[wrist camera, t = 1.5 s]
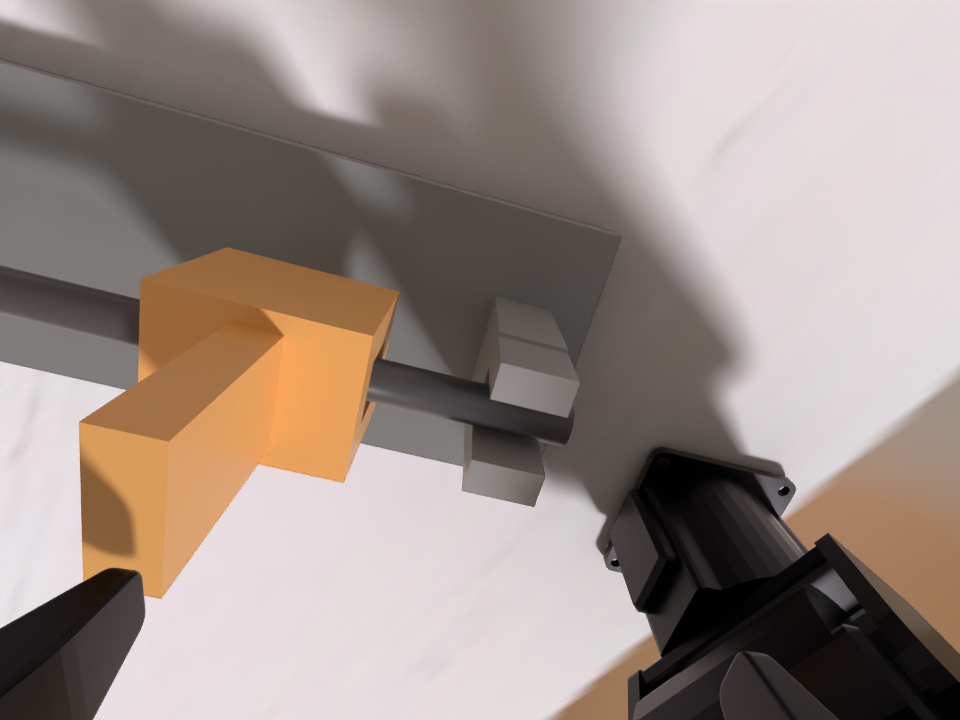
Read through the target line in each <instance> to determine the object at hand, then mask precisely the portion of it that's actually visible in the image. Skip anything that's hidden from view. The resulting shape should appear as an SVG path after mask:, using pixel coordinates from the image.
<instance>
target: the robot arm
mask: <svg viewBox="0 0 960 720" xmlns="http://www.w3.org/2000/svg"><path fill="white" fill-rule="evenodd" d="M661 458H666V459H665V461H663V462H658V460H659V459H661ZM783 486H784V488H783V489H781V490H779V489H780V488H781V487H783ZM795 491H796V488H795V485H794V484H793V483H792V482H791V481H790V480H789V479H788V478H787V477H785V476H781V475H777V474H773V473H769V472H765V471H760V470H756V469H752V468H748V467H744V466H740V465H735V464H731V463H727V462H723V461H719V460H715V459H711V458H706V457H702V456H698V455H694V454H690V453H686V452H681V451H677V450H673V449H669V448H665V447H660V448H656V449H654V450H653V451H652V452H651V453H650V455H649V457H648V459H647V461H646V463H645V465H644V468H643V470H642V472H641V474H640V476H639V479H638V481H637V483H636V485H635V487H634V488H633V489H632V490H631V491H629V492H628V495H627V497H626V499H625V501H624V503H623V506H622V508H621V510H620V512H619V515H618V517H617V519H616V521H615V523H614V526H613V528H612V530H611V532H610V538H611V540H610V542H609V544H608V547H607V549H606V551H605V553H604V561H605V564H606V567H607V568H608V569H609V570H612V571H616V572H620V573H623V576H624V579H625V582H626V585H627V588H628V591H629V594H630V597H631V600H632V602H633V605H634V606H635V608H636V610H637V611H638V612H642V613H645V614H646V617H647V619H648V622H649V625H650V628H651V630H652V633H653V636H654V639H655V641H656V644H657V647H658V650H659V652H660V655H661V657H662V658H661V659H659V660H658V661H657V662H655V663H654V664H652V665H651V666H650V667H648V668H647V669H645V670H644V671H642V670H639V671H637V672H636V673H635V674H633V675H632V676H630V677H629V678H628V720H960V654H959V653H958V652H957V651H956V650H955V649H954V648H953V647H952V646H951V645H950V644H949V643H948V642H947V641H946V640H945V639H944V638H943V637H942V636H941V635H940V634H939V633H938V632H937V631H936V630H935V629H934V628H933V627H932V626H931V625H930V624H929V623H928V622H927V621H926V620H925V619H924V618H923V617H922V615H920V614H919V612H918V611H917V610H916V609H914V607H912V606H911V605H910V604H909V603H908V602H907V601H906V600H905V599H904V598H903V597H901V596H900V595H899V594H898V593H897V592H896V591H895V590H893V589H892V588H891V587H890V586H889V585H888V584H887V583H885V582H884V581H883V580H882V579H881V578H880V577H878V576H877V575H876V574H875V573H874V572H873V571H872V570H871V569H869V568H868V567H867V566H866V565H865V564H864V563H862V562H861V561H860V560H859V559H858V558H857V557H856V556H854V555H853V554H852V553H851V552H850V551H849V550H848V549H846V548H845V547H844V546H843V545H842V544H841V543H839V542H838V541H837V540H836V539H835V538H834V537H833V536H831V535H830V534H829V533H827V534H826V535H824V536H823V537H822V538H820V539H819V540H818V541H816V542H815V545H816V547H814V548H813V549H812V550H810V551H808V550H807V549H806V547H805V546H804V545H803V544H802V543H801V541H800V540H799V539H798V538H797V537H796V535H795V534H794V533H793V532H792V531H791V529H790V528H789V527H788V526H787V524H786V523H785V522H784V521H783V520H782V518H781V515H782V514H783V512H784V510H785V509H786V507H787V505H788V504H789V502H790V500H791V499H792V497H793V495H794V494H795ZM615 558H617V560H613V559H615ZM144 618H145V601H144V590H143V579H142V575H141V574H140V572H139V571H136V570H130V569H122V568H108V569H105V570H103V571H101V572H99V573H97V574H96V575H94V576H92V577H90V578H89V579H87V580H85V581H83V582H82V583H80V584H78V585H76V586H74V587H73V588H71V589H69V590H67V591H66V592H64V593H62V594H60V595H59V596H57V597H55V598H53V599H51V600H50V601H48V602H46V603H44V604H43V605H41V606H39V607H37V608H36V609H34V610H32V611H30V612H28V613H27V614H25V615H23V616H21V617H20V618H18V619H16V620H14V621H13V622H11V623H9V624H7V625H5V626H4V627H2V628H0V720H93V719H94V717H95V715H96V713H97V711H98V709H99V707H100V705H101V704H102V702H103V700H104V698H105V696H106V694H107V692H108V690H109V689H110V687H111V685H112V683H113V681H114V679H115V677H116V675H117V673H118V672H119V670H120V668H121V666H122V664H123V662H124V660H125V658H126V656H127V655H128V653H129V651H130V649H131V647H132V645H133V643H134V641H135V639H136V638H137V636H138V634H139V632H140V630H141V628H142V625H143V622H144Z"/></svg>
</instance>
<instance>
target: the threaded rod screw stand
mask: <svg viewBox="0 0 960 720" xmlns="http://www.w3.org/2000/svg"><path fill="white" fill-rule="evenodd" d="M621 238H622V237H621V236H619V235H617V234H615V233H614V232H612V231H609V230H606V229H602V228H598V227H595V226H591V225H588V224H584V223H581V222H577V221H574V220H570V219H566V218H563V217H559V216H556V215H552V214H549V213H545V212H542V211H538V210H535V209H531V208H527V207H524V206H520V205H517V204H513V203H510V202H506V201H503V200H499V199H495V198H492V197H488V196H485V195H481V194H478V193H474V192H471V191H467V190H464V189H460V188H456V187H453V186H449V185H446V184H442V183H439V182H435V181H432V180H428V179H425V178H421V177H417V176H414V175H410V174H407V173H403V172H400V171H396V170H393V169H389V168H385V167H382V166H378V165H375V164H371V163H368V162H364V161H361V160H357V159H354V158H350V157H346V156H343V155H339V154H336V153H332V152H329V151H325V150H322V149H318V148H314V147H311V146H307V145H304V144H300V143H297V142H293V141H290V140H286V139H283V138H279V137H275V136H272V135H268V134H265V133H261V132H258V131H254V130H251V129H247V128H243V127H240V126H236V125H233V124H229V123H226V122H222V121H219V120H215V119H212V118H208V117H204V116H201V115H197V114H194V113H190V112H187V111H183V110H180V109H176V108H172V107H169V106H165V105H162V104H158V103H155V102H151V101H148V100H144V99H141V98H137V97H133V96H130V95H126V94H123V93H119V92H116V91H112V90H109V89H105V88H101V87H98V86H94V85H91V84H87V83H84V82H80V81H77V80H73V79H70V78H66V77H62V76H59V75H55V74H52V73H48V72H45V71H41V70H38V69H34V68H30V67H27V66H23V65H20V64H16V63H13V62H9V61H6V60H2V59H0V361H2V362H6V363H10V364H15V365H19V366H24V367H28V368H32V369H37V370H41V371H46V372H50V373H54V374H59V375H63V376H68V377H72V378H76V379H81V380H85V381H90V382H94V383H98V384H103V385H107V386H112V387H116V388H120V389H125V390H128V389H130V388H131V387H133V386H134V385H136V384H137V383H138V363H139V316H140V278H143V277H146V276H148V275H151V274H154V273H157V272H159V271H162V270H165V269H168V268H171V267H173V266H176V265H179V264H182V263H185V262H187V261H190V260H193V259H196V258H198V257H201V256H204V255H207V254H210V253H212V252H215V251H218V250H221V249H223V248H226V247H229V248H233V249H236V250H240V251H244V252H248V253H252V254H256V255H260V256H264V257H267V258H271V259H275V260H279V261H283V262H287V263H291V264H294V265H298V266H302V267H306V268H310V269H314V270H318V271H322V272H325V273H329V274H333V275H337V276H341V277H345V278H349V279H353V280H356V281H360V282H364V283H368V284H372V285H376V286H380V287H383V288H387V289H391V290H395V291H399V297H398V302H397V306H396V311H395V316H394V320H393V325H392V330H391V334H390V339H389V343H388V348H387V353H386V357H385V359H382V358H377V357H376V359H375V360H374V363H373V368H372V372H371V377H370V382H369V387H368V392H367V397H366V400H367V401H371V402H375V403H376V404H375V409H374V411H373V414H372V416H371V418H370V421H369V423H368V426H367V428H366V430H365V433H364V435H363V438H362V440H361V442H360V443H362V444H366V445H371V446H375V447H380V448H384V449H388V450H393V451H397V452H402V453H406V454H410V455H415V456H419V457H424V458H428V459H432V460H437V461H441V462H446V463H450V464H454V465H459V466H463V482H462V491H465V492H469V493H474V494H478V495H483V496H487V497H492V498H496V499H501V500H505V501H510V502H514V503H519V504H523V505H528V506H532V507H534V506H535V503H536V500H537V498H538V495H539V492H540V490H541V487H542V484H543V482H544V479H545V472H544V467H543V462H542V458H541V457H542V454H543V452H544V449H545V446H546V443H549V444H553V445H557V446H561V447H563V446H564V445H565V444H566V443H567V441H568V439H569V437H570V434H571V431H572V426H573V421H574V409H573V406H572V404H573V402H574V399H575V396H576V394H577V391H578V388H579V386H580V383H581V382H580V380H579V378H578V375H577V373H576V371H575V369H574V367H575V364H576V361H577V358H578V356H579V353H580V350H581V347H582V345H583V342H584V339H585V337H586V334H587V331H588V328H589V326H590V323H591V320H592V317H593V315H594V312H595V309H596V306H597V304H598V301H599V298H600V295H601V293H602V290H603V287H604V284H605V282H606V279H607V276H608V274H609V271H610V268H611V265H612V263H613V260H614V257H615V254H616V252H617V249H618V246H619V243H620V241H621Z"/></svg>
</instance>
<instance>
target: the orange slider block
mask: <svg viewBox="0 0 960 720" xmlns="http://www.w3.org/2000/svg"><path fill="white" fill-rule="evenodd" d="M398 297H399V291H395V290H391V289H387V288H383V287H380V286H376V285H372V284H368V283H364V282H360V281H356V280H353V279H349V278H345V277H341V276H337V275H333V274H329V273H325V272H322V271H318V270H314V269H310V268H306V267H302V266H298V265H294V264H291V263H287V262H283V261H279V260H275V259H271V258H267V257H264V256H260V255H256V254H252V253H248V252H244V251H240V250H236V249H233V248H229V247H226V248H223V249H221V250H218V251H215V252H212V253H210V254H207V255H204V256H201V257H198V258H196V259H193V260H190V261H187V262H185V263H182V264H179V265H176V266H173V267H171V268H168V269H165V270H162V271H159V272H157V273H154V274H151V275H148V276H146V277H143V278H140V316H139V363H138V383H137V384H136V385H134V386H133V387H131V388H130V389H128V390H127V391H125V392H124V393H122V394H121V395H119V396H117V397H116V398H114V399H113V400H111V401H110V402H108V403H107V404H105V405H104V406H102V407H101V408H99V409H98V410H96V411H95V412H93V413H92V414H90V415H89V416H87V417H86V418H84V419H83V420H81V421H80V422H79V441H80V478H81V515H82V552H83V581H85V580H87V579H89V578H90V577H92V576H94V575H96V574H97V573H99V572H101V571H103V570H105V569H108V568H122V569H130V570H136V571H139V572H140V574H141V575H142V579H143V590H144V596H148V597H154V598H159V599H162V597H163V596H164V595H165V593H166V592H167V590H168V589H169V588H170V586H171V585H172V583H173V582H174V581H175V579H176V578H177V576H178V575H179V574H180V572H181V571H182V570H183V568H184V567H185V565H186V564H187V563H188V561H189V560H190V558H191V557H192V556H193V554H194V553H195V551H196V550H197V549H198V547H199V546H200V545H201V543H202V542H203V540H204V539H205V538H206V536H207V535H208V533H209V532H210V531H211V529H212V528H213V526H214V525H215V524H216V522H217V521H218V520H219V518H220V517H221V515H222V514H223V513H224V511H225V510H226V508H227V507H228V506H229V504H230V503H231V501H232V500H233V499H234V497H235V496H236V495H237V493H238V492H239V490H240V489H241V488H242V486H243V485H244V483H245V482H246V481H247V479H248V478H249V476H250V475H251V474H252V472H253V471H254V469H255V468H256V467H257V465H258V464H260V465H265V466H269V467H274V468H278V469H283V470H287V471H292V472H296V473H301V474H306V475H310V476H315V477H319V478H324V479H328V480H333V481H338V482H342V483H344V481H345V478H346V476H347V474H348V471H349V469H350V466H351V464H352V462H353V459H354V457H355V454H356V452H357V450H358V447H359V445H360V442H361V440H362V438H363V435H364V433H365V430H366V428H367V426H368V423H369V421H370V418H371V416H372V414H373V411H374V409H375V404H376V403H375V402H371V401H367V400H366V397H367V392H368V387H369V382H370V377H371V372H372V368H373V363H374V360H375V359H376V357H377V358H382V359H385V357H386V353H387V348H388V343H389V339H390V334H391V330H392V325H393V320H394V316H395V311H396V306H397V302H398Z"/></svg>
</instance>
